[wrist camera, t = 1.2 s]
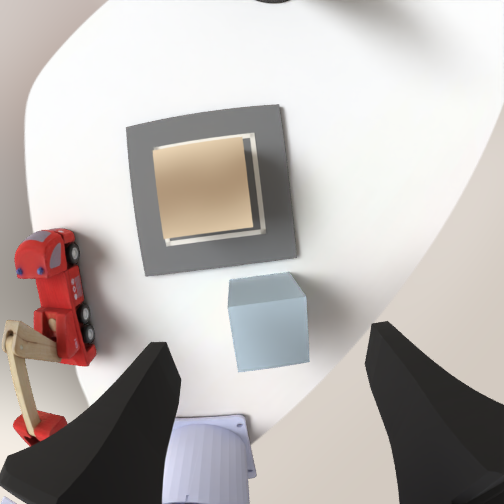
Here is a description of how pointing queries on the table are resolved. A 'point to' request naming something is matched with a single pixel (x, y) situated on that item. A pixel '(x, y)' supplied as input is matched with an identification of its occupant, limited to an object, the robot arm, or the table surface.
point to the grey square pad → (259, 183)
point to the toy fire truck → (48, 324)
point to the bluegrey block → (268, 321)
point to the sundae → (272, 1)
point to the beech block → (202, 187)
